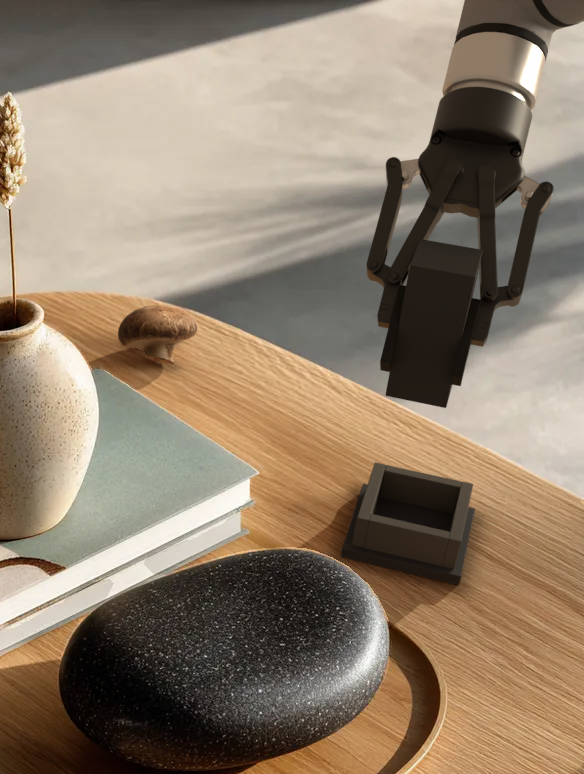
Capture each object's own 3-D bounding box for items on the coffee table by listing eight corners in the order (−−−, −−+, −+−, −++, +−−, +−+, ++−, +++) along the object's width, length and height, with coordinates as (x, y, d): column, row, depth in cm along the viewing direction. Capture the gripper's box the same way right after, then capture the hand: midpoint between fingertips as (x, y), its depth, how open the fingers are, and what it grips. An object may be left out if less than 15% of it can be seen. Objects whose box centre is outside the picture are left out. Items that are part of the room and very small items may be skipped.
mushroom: (185, 359, 132) (175, 296, 132) (112, 373, 135) (102, 311, 135) (211, 360, 139) (202, 301, 139) (140, 373, 143) (132, 315, 143)
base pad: (473, 517, 118) (482, 480, 116) (459, 585, 111) (468, 548, 109) (361, 491, 121) (368, 455, 119) (340, 557, 113) (347, 520, 111)
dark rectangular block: (454, 378, 113) (483, 249, 106) (446, 408, 109) (475, 276, 102) (395, 366, 114) (419, 238, 107) (385, 395, 110) (410, 265, 103)
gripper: (594, 141, 111) (531, 408, 108) (377, 108, 115) (312, 364, 113) (608, 99, 103) (541, 385, 101) (376, 66, 108) (306, 338, 106)
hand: (420, 373), depth 107 cm, fingers closed on dark rectangular block, 5 cm apart
